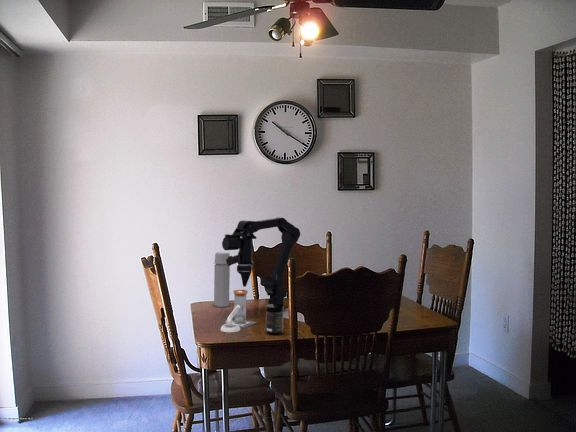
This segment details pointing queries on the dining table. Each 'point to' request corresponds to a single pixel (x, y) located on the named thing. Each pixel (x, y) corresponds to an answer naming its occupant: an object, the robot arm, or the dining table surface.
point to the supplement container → (274, 319)
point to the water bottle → (221, 280)
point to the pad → (248, 323)
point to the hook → (231, 322)
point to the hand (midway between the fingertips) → (245, 284)
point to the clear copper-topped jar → (241, 301)
